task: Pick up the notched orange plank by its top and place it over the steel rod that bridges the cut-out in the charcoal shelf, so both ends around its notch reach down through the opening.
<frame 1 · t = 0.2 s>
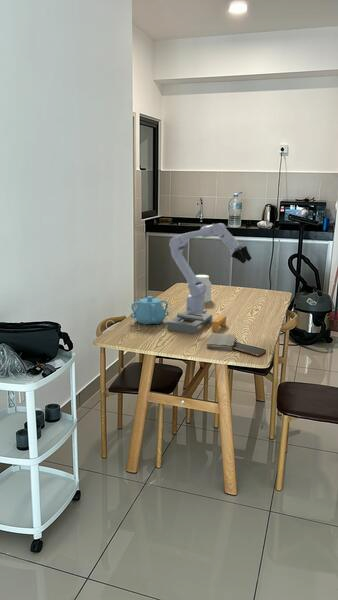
hand: (247, 261, 245), 31 cm above the table, tool tilted 45°, fingers open, 7 cm apart
washcloth: (221, 344, 216), on the table
decorative pot: (149, 322, 246), on the table
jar: (201, 300, 291), on the table
notched orange plank: (218, 327, 238), on the table
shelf: (190, 325, 240), on the table
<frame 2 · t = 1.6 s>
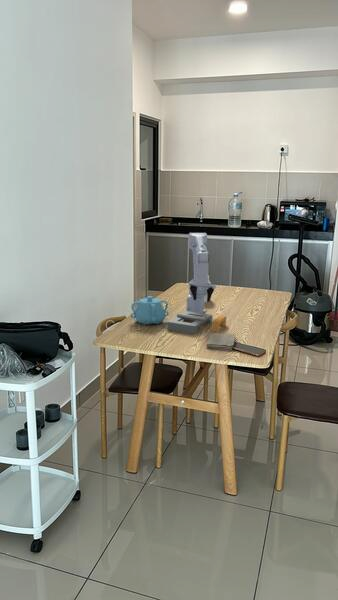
hand: (201, 300, 248), 10 cm above the table, tool pointing down, fingers open, 7 cm apart
nothing on the table moved.
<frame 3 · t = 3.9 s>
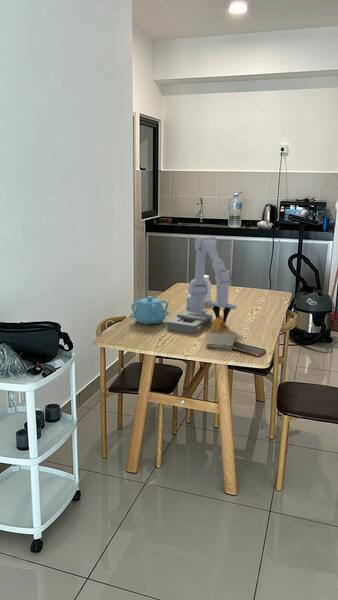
hand: (221, 321, 240), 3 cm above the table, tool pointing down, fingers closed on notched orange plank, 3 cm apart
notched orange plank: (218, 327, 238), on the table, touching gripper
everything else where it was.
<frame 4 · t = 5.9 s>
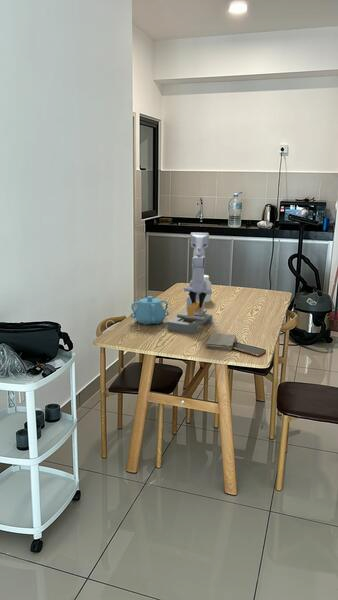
hand: (197, 306, 240), 9 cm above the table, tool pointing down, fingers closed on notched orange plank, 3 cm apart
notched orange plank: (194, 313, 238), point 7 cm above the table, touching gripper
everything else where it was.
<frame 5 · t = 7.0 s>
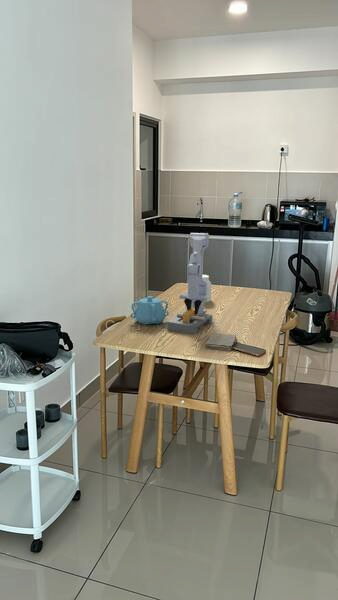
hand: (192, 313, 241), 6 cm above the table, tool pointing down, fingers closed on notched orange plank, 3 cm apart
notched orange plank: (190, 320, 239), point 3 cm above the table, touching gripper
everything else where it was.
when the fingers open (5 cm above the table, at t = 7.8 s): notched orange plank stays where it is, resting on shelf.
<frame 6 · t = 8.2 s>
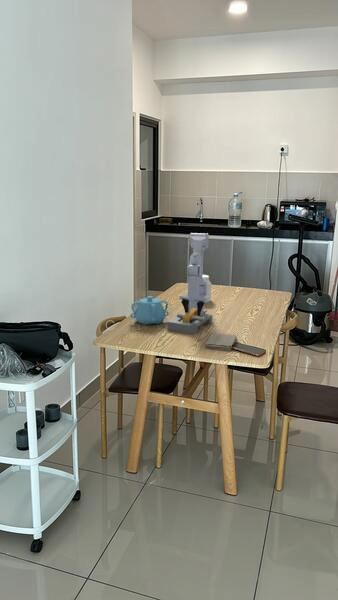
hand: (192, 314, 242), 5 cm above the table, tool pointing down, fingers open, 6 cm apart
notched orange plank: (190, 321, 240), point 2 cm above the table, tilted 8°, touching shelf
everything else where it was.
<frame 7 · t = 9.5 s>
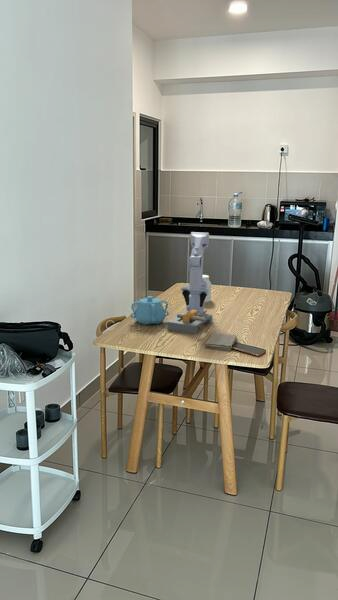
hand: (194, 305, 242), 9 cm above the table, tool pointing down, fingers open, 7 cm apart
notched orange plank: (190, 321, 240), point 2 cm above the table, touching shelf
everything else where it was.
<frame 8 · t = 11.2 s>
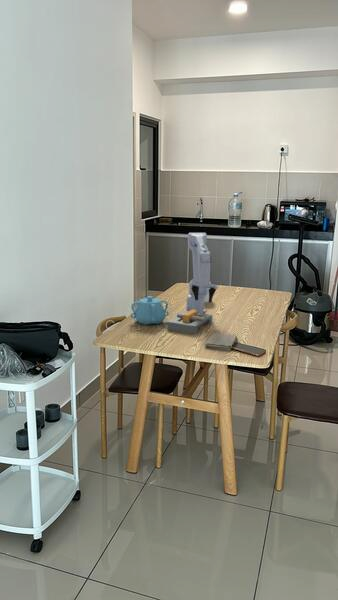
hand: (203, 301, 247), 10 cm above the table, tool pointing down, fingers open, 7 cm apart
nothing on the table moved.
at the end: notched orange plank 0.3 cm off-centre on the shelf, point 2.2 cm above the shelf's base; notched orange plank touching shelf; the gripper is holding nothing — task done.
